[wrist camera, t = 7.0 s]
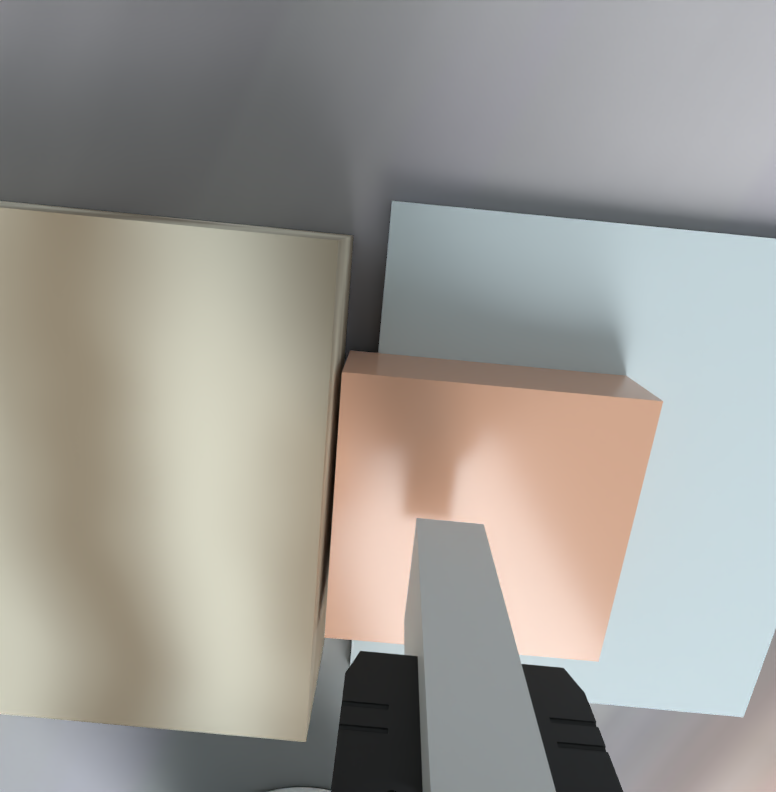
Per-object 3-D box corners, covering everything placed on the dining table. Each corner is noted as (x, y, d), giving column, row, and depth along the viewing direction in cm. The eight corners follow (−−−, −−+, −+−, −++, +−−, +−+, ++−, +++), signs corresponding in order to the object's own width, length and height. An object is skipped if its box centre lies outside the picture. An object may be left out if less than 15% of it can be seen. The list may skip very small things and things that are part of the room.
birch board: (-14, 610, 20) (-112, 703, 16) (-74, 193, 16) (-227, 185, 12) (323, 642, 20) (306, 742, 16) (353, 235, 16) (338, 240, 12)
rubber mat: (350, 667, 20) (348, 680, 20) (392, 201, 16) (392, 200, 15) (733, 703, 20) (743, 717, 20) (894, 251, 16) (913, 252, 15)
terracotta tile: (334, 586, 19) (324, 637, 16) (350, 350, 16) (341, 372, 14) (574, 607, 19) (598, 661, 16) (626, 375, 16) (663, 401, 14)
